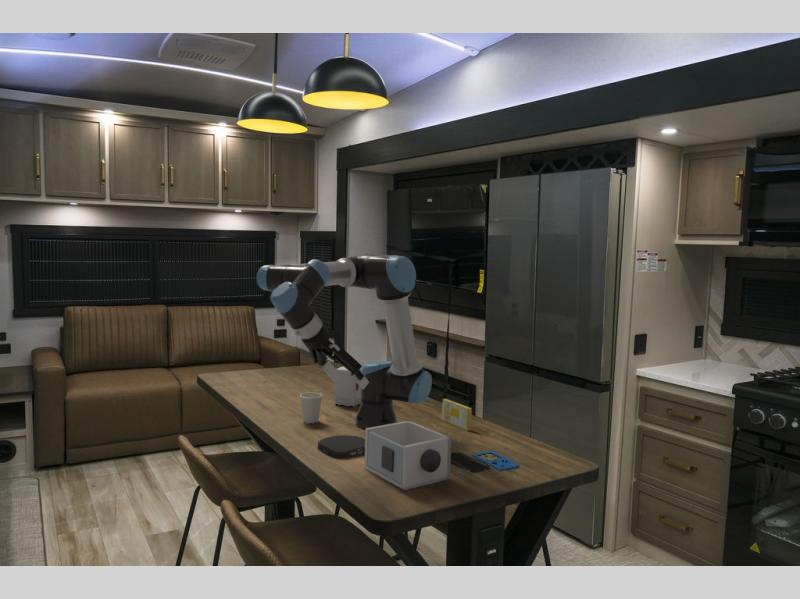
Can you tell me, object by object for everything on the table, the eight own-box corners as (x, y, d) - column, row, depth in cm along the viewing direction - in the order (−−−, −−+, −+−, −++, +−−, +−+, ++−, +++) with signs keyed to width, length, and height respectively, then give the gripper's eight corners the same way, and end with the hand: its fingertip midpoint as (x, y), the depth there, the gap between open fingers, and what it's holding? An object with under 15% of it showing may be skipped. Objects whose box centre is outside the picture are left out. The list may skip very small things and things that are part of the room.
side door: (399, 483, 172) (400, 447, 171) (366, 465, 185) (366, 432, 184) (403, 482, 173) (404, 446, 172) (370, 464, 186) (371, 431, 185)
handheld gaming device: (499, 468, 188) (471, 453, 201) (499, 472, 188) (470, 456, 201) (521, 464, 192) (492, 449, 205) (521, 468, 192) (492, 453, 205)
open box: (408, 492, 169) (409, 448, 168) (364, 468, 187) (365, 428, 186) (453, 480, 179) (455, 439, 178) (407, 458, 196) (408, 420, 195)
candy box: (471, 430, 228) (472, 408, 227) (466, 431, 227) (467, 408, 226) (445, 419, 242) (446, 398, 241) (441, 420, 241) (441, 398, 240)
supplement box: (354, 407, 255) (355, 371, 254) (334, 405, 258) (334, 369, 257) (362, 402, 264) (363, 367, 262) (343, 400, 267) (343, 365, 265)
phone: (458, 451, 202) (491, 465, 190) (458, 455, 202) (491, 469, 190) (439, 456, 197) (471, 470, 185) (439, 459, 197) (471, 474, 185)
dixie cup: (294, 422, 232) (295, 395, 231) (307, 417, 240) (308, 391, 239) (314, 425, 228) (314, 398, 228) (326, 420, 236) (326, 393, 235)
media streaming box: (350, 440, 214) (350, 431, 214) (376, 452, 203) (376, 443, 202) (313, 448, 205) (313, 439, 205) (337, 461, 193) (338, 451, 193)
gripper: (278, 335, 182) (318, 384, 193) (330, 346, 164) (370, 399, 175) (295, 317, 186) (333, 366, 196) (347, 325, 167) (386, 378, 178)
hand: (350, 381), depth 185 cm, fingers open, 13 cm apart
